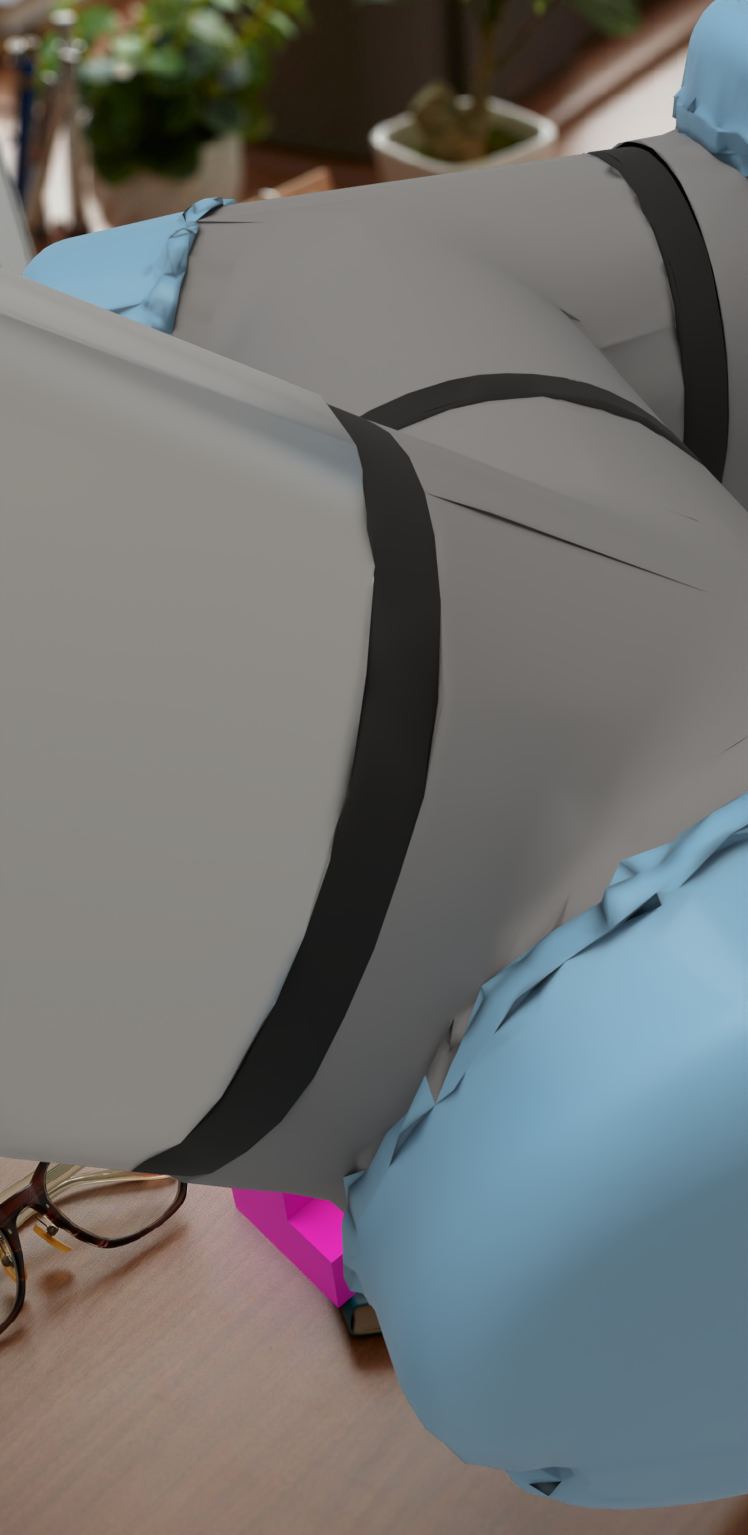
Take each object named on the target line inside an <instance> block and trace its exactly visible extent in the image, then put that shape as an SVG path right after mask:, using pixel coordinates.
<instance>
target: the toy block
mask: <svg viewBox="0 0 748 1535" xmlns="http://www.w3.org/2000/svg"><path fill="white" fill-rule="evenodd" d="M231 1193H232V1197H233V1202H234V1205H235V1209H237V1210H238V1212H240V1213H241V1214H242V1215H243V1216H244V1217H245V1218H246V1219H247V1220H248V1221H249V1222H250V1223H251V1224H252V1225H253V1226H254V1227H255V1228H256V1229H257V1230H258V1231H259V1232H260V1233H261V1234H262V1235H263V1236H264V1237H265V1238H266V1239H267V1240H268V1241H269V1242H270V1243H271V1244H272V1245H274V1246H275V1248H276V1249H277V1250H279V1251H280V1253H281V1254H282V1255H283V1256H284V1257H285V1258H286V1259H287V1260H289V1261H290V1262H291V1263H292V1264H293V1265H294V1266H295V1268H296V1269H298V1270H299V1271H300V1272H301V1273H302V1274H303V1275H304V1276H305V1277H306V1278H307V1279H308V1280H309V1281H310V1282H311V1283H312V1284H313V1285H314V1286H315V1287H316V1288H317V1289H318V1290H319V1291H320V1292H321V1293H322V1294H323V1295H324V1296H325V1297H326V1298H327V1299H328V1300H329V1301H330V1302H331V1303H332V1304H333V1305H334V1306H336V1308H337V1309H339V1308H341V1307H342V1306H343V1305H344V1304H345V1303H346V1302H347V1301H349V1299H351V1298H352V1297H353V1296H354V1295H355V1294H356V1293H357V1292H354V1291H350V1290H349V1288H348V1285H347V1283H346V1281H345V1279H344V1272H343V1248H342V1224H341V1223H342V1220H343V1216H344V1212H342V1211H341V1210H340V1209H339V1208H338V1207H337V1206H335V1205H334V1204H333V1203H332V1202H331V1201H328V1200H323V1199H317V1198H312V1197H307V1196H302V1195H297V1194H292V1193H283V1192H271V1191H259V1190H247V1189H236V1188H231Z"/></svg>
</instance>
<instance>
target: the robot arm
mask: <svg viewBox="0 0 748 1535" xmlns="http://www.w3.org/2000/svg"><path fill="white" fill-rule="evenodd" d="M686 52H687V53H686V58H685V64H684V69H683V74H682V79H681V84H680V88H679V90H678V91H677V92H676V93H675V94H674V95H673V106H672V118H673V119H675V127H674V129H672V130H670V131H667V132H665V133H663V134H659V135H658V134H657V135H653V136H648V137H642V138H637V139H632V140H626V141H622V142H618V143H617V144H616V145H614V146H613V147H612V148H607V149H601V150H595V151H594V150H593V151H588V152H587V153H586V152H583V153H580V154H573V155H565V156H558V157H551V158H544V159H537V160H530V161H524V162H517V163H509V164H504V165H496V166H490V167H489V166H488V167H481V168H475V169H469V170H461V171H455V172H447V173H442V174H441V173H440V174H433V175H426V176H420V177H414V178H413V177H412V178H406V179H399V180H392V181H385V182H378V183H372V184H364V185H357V186H351V187H344V188H343V187H342V188H336V189H329V190H324V191H316V192H310V193H309V192H308V193H302V194H294V195H290V196H280V197H275V198H274V197H273V198H268V199H260V200H254V201H248V202H247V201H246V202H239V203H238V202H237V200H236V199H235V198H224V197H223V196H216V197H206V198H203V199H200V200H198V201H196V202H194V203H193V204H191V205H190V206H189V207H188V208H186V209H185V210H183V211H180V212H175V213H171V214H167V215H162V216H158V217H154V218H149V219H145V220H141V221H137V222H136V221H135V222H132V223H128V224H124V225H119V226H116V227H110V228H107V229H106V228H105V229H102V230H98V231H93V232H89V233H85V234H81V235H76V236H73V237H68V238H64V239H61V240H59V241H58V240H57V241H56V242H53V243H52V244H50V245H48V246H46V247H44V248H43V249H42V250H41V251H39V253H38V254H36V255H35V256H34V257H33V258H32V259H31V260H30V262H29V263H28V265H27V266H26V267H25V268H24V270H23V272H22V275H21V274H18V273H16V272H13V271H11V270H8V269H5V268H3V267H1V266H0V1158H4V1159H5V1158H6V1159H12V1160H13V1159H14V1160H22V1161H32V1162H40V1163H41V1162H42V1163H49V1164H51V1163H52V1164H60V1165H67V1166H68V1165H69V1166H77V1167H85V1168H95V1169H105V1170H113V1171H122V1172H131V1173H142V1174H152V1175H160V1176H161V1175H162V1176H169V1177H171V1178H173V1179H174V1180H176V1181H179V1182H181V1183H183V1184H191V1185H192V1184H193V1185H201V1186H211V1187H219V1188H228V1189H232V1188H236V1189H247V1190H259V1191H271V1192H283V1193H292V1194H297V1195H302V1196H307V1197H312V1198H317V1199H323V1200H328V1201H331V1202H332V1203H333V1204H334V1205H335V1206H337V1207H338V1208H339V1209H340V1210H341V1211H342V1212H344V1216H343V1220H342V1223H341V1224H342V1248H343V1272H344V1279H345V1281H346V1283H347V1285H348V1288H349V1290H350V1291H354V1292H356V1293H359V1294H363V1296H364V1297H365V1299H366V1301H367V1303H368V1305H369V1306H370V1307H372V1309H373V1310H374V1313H375V1315H376V1319H377V1321H378V1324H379V1327H380V1331H381V1334H382V1338H383V1339H384V1343H385V1345H386V1350H387V1352H388V1355H389V1358H390V1362H391V1364H392V1367H393V1368H392V1369H393V1371H394V1374H395V1376H396V1380H397V1382H398V1385H399V1387H400V1389H401V1392H402V1394H403V1395H404V1397H405V1399H406V1401H407V1403H408V1404H409V1406H410V1408H411V1409H412V1411H413V1412H414V1414H415V1416H416V1417H417V1419H418V1421H419V1422H420V1423H421V1425H422V1426H423V1428H424V1429H425V1430H426V1431H427V1432H428V1433H430V1434H431V1435H432V1436H433V1437H435V1438H436V1439H437V1440H439V1441H440V1442H441V1443H442V1444H444V1445H445V1446H446V1447H447V1448H448V1449H449V1450H450V1451H451V1452H452V1453H453V1454H454V1455H455V1456H456V1457H457V1458H458V1459H459V1460H460V1461H461V1462H462V1463H463V1464H466V1465H471V1466H473V1465H474V1466H480V1467H484V1468H485V1467H486V1468H491V1469H496V1470H502V1471H505V1473H506V1474H507V1475H508V1477H509V1478H510V1480H511V1481H512V1482H513V1484H514V1485H515V1486H517V1487H518V1488H520V1489H521V1490H523V1491H524V1492H526V1493H528V1494H532V1495H535V1496H538V1497H541V1498H542V1497H543V1498H546V1499H549V1500H552V1501H557V1502H560V1503H562V1504H566V1505H569V1506H575V1507H580V1508H584V1509H599V1510H616V1511H617V1510H640V1509H659V1508H668V1507H669V1508H670V1507H676V1506H677V1507H678V1506H686V1505H692V1504H701V1503H709V1502H713V1501H717V1500H718V1501H719V1500H724V1499H729V1498H734V1497H738V1496H744V1495H748V0H713V1H712V2H711V3H710V4H709V5H708V6H707V7H706V9H704V10H703V12H702V13H701V15H700V17H699V19H698V20H697V22H696V24H695V25H694V27H693V30H692V32H691V34H690V37H689V42H688V47H687V51H686Z"/></svg>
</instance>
